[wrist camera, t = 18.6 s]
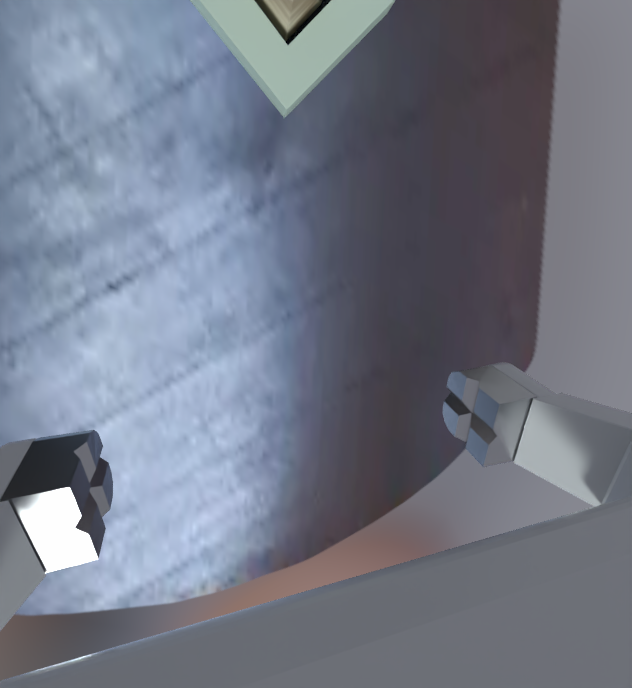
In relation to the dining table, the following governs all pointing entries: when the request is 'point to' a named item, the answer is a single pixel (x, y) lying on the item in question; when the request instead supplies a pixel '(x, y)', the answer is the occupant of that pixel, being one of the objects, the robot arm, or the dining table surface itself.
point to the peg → (288, 13)
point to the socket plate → (302, 53)
